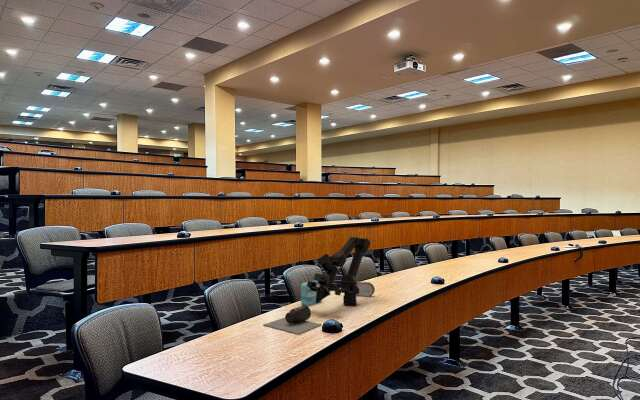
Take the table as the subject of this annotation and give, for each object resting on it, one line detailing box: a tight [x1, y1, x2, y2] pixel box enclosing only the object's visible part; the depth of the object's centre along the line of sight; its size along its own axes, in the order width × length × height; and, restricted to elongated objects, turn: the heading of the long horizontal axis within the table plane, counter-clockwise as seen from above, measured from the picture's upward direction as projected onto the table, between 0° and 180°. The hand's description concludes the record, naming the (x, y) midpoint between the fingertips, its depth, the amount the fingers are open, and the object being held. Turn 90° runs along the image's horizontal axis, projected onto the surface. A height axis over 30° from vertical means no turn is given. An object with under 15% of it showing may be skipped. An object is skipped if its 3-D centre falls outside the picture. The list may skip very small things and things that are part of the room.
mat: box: [263, 317, 323, 336], centre depth 192 cm, size 16×22×1 cm
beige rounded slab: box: [356, 281, 376, 298], centre depth 247 cm, size 15×3×8 cm, turn 71°
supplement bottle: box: [285, 305, 312, 324], centre depth 195 cm, size 7×7×12 cm
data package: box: [300, 280, 322, 307], centre depth 231 cm, size 12×4×12 cm, turn 137°
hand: (316, 302), depth 205 cm, fingers closed
